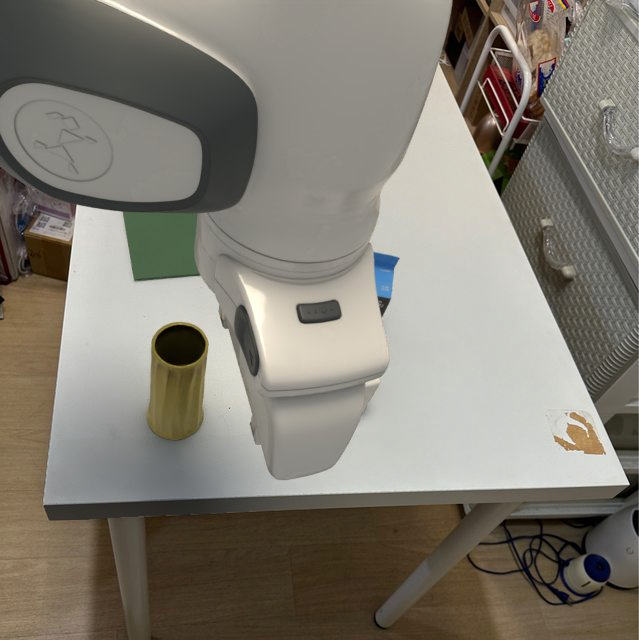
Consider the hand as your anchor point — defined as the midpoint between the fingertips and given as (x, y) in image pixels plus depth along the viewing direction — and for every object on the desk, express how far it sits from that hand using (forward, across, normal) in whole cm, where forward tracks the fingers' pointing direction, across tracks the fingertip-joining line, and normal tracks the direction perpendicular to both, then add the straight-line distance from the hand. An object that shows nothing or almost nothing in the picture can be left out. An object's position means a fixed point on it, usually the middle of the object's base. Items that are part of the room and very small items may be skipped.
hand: (247, 373), depth 43 cm
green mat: (+25, -37, +4) cm, 45 cm away
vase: (+26, -11, -2) cm, 28 cm away
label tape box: (+25, -20, +21) cm, 39 cm away
